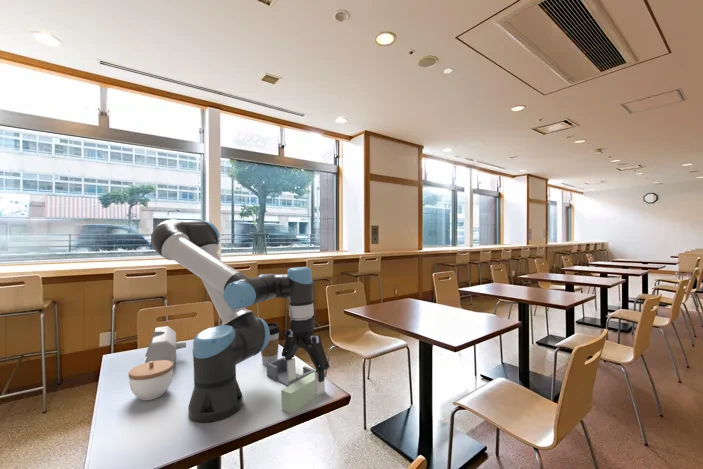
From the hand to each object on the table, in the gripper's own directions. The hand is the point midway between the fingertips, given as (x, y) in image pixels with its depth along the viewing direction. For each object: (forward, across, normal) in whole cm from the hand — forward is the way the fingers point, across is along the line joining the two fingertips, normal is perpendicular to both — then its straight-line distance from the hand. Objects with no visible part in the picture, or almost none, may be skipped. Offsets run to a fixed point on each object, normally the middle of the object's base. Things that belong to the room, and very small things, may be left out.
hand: (305, 385), depth 100 cm
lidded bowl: (+4, +43, +30) cm, 52 cm away
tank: (+3, +70, +18) cm, 72 cm away
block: (+5, +1, 0) cm, 5 cm away
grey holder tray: (+4, +16, -6) cm, 17 cm away
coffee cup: (+4, +35, -10) cm, 36 cm away
